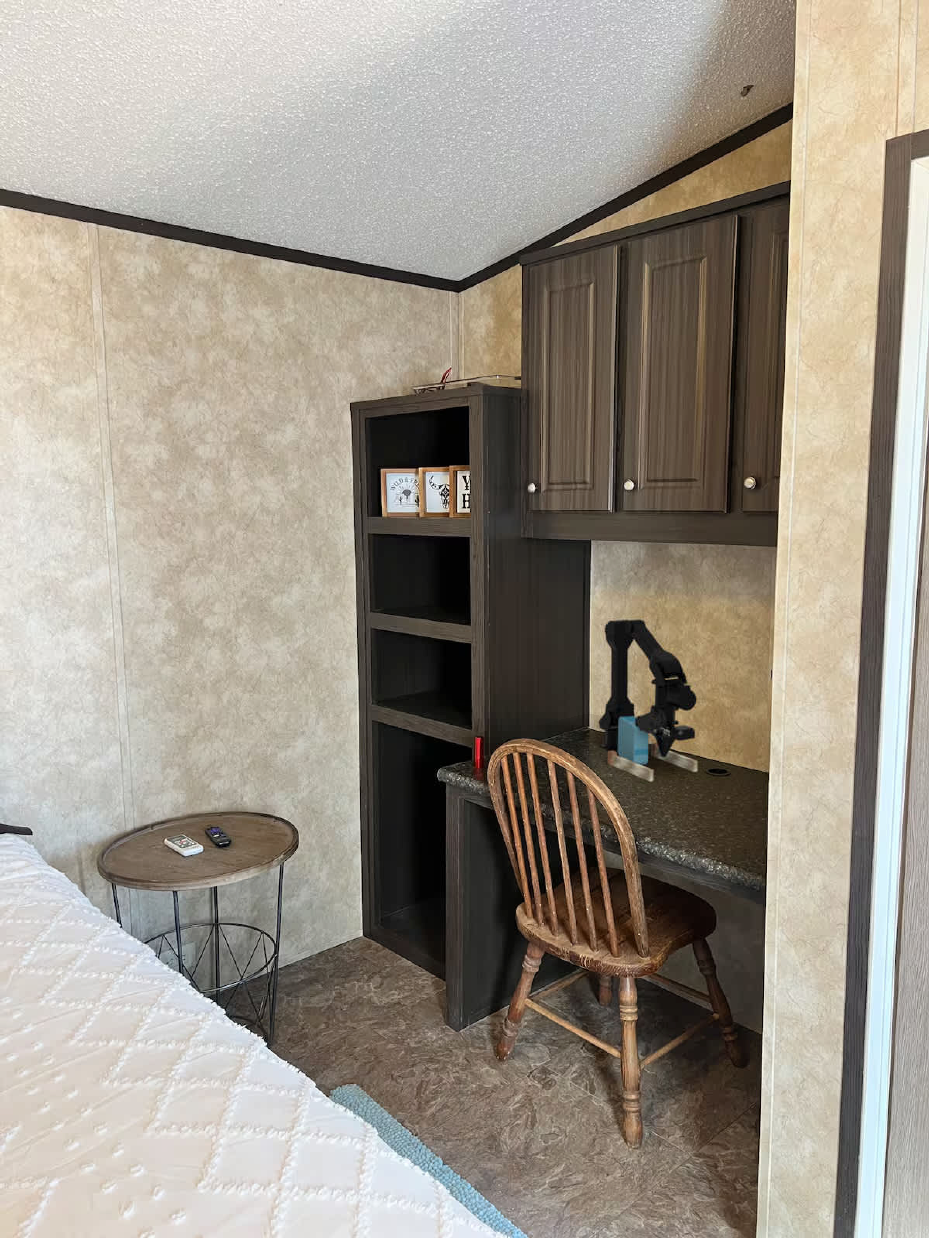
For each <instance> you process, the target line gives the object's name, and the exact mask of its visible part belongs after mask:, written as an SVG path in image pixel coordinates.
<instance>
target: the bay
mask: <svg viewBox="0 0 929 1238" xmlns="http://www.w3.org/2000/svg"><path fill="white" fill-rule="evenodd" d="M617 754H618V751H610V750H608V751H607V765H609V766H611V767H615V768H617V769H620V770H622V771H623V772H624V771H625V772H627V773H629V774H630V775H634V776H636V777H638V778H641V779H643V780H645V781H648V782H654V769H652V768H649V767H646V766H644V765H640V764H637V763H635V762H632V761H630V760H627V759H625V758H622V757H620V756H619V755H617ZM650 756H651V757H653V758H657V759H659V760H662V761H665V762H667V763H670V764H673V765H675V766H678V767H680V768H681V769H682V768H683V769H685V770H688V771H689V772H693V773H694V772H696V773H697V772H698V762H699V761H698V760H695V759H694V758H691V757H687V756H685V755H682V754H680V753H677V752H674V751H671V750H669V752H668V754H667V755H666V757H662V756H661V754H660V751H659V747H658V744H657V742H651V743H650Z"/></svg>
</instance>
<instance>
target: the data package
mask: <svg viewBox="0 0 929 1238" xmlns="http://www.w3.org/2000/svg"><path fill="white" fill-rule="evenodd" d="M636 718H637V717H636V716H629V717H620V718H619V722H618V751H617V754H618V756H620V757H622V758H625V759H627V760H630V761H632V762H635V763H637V764H640V765H642V766H644V765H647V764H648V762H649V760H648V759H649V737H650V733H646V732H645V731H641V730H639V727H638V726H635V719H636Z"/></svg>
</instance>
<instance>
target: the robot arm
mask: <svg viewBox="0 0 929 1238" xmlns="http://www.w3.org/2000/svg"><path fill="white" fill-rule="evenodd" d="M604 633H605V641H606V643H607V645H608V646H609V647H610V650H611V652H610V653H611V655H610V658H611V659H610V661H611V663H610V666H611V667H610V679H611V680H610V697H609V698H608V700H607V702H606V704H605V707H604V709H605V710H604V714H603V715H602V716H601V717H600V719H599V720H598V724H599V728H600V729H601V730H603V731H604V744H600V747H602V748H603V749H605V750H608V751H615V752H618V722H619V718H620V717H629V716H634V717H636V715H635V704H634V703H633V702H631V700H630V699H629V694H628V693H629V692H628V691H629V690H628V687H629V682H628V681H629V675H628V674H629V673H628V672H629V648H630V647H631V645H632V644H633V642H635V643H636V644H637V646H638V647H639V648H640V650H641V651H642V652H643V654H644V655H645V656H646V658H647V659H648V668H649V670H650V672H651V674H652V676H653V677H654V678H653V679H652V680H651V682H650V684H652V685H655V686H654V687H655V689H654V704H652V705H651V707H650V711H649V712H646V713H645V714H641V715H637V717H636V719H635V726H638V727H639V730H641V731H645V732H646V733H649V734H651V735H652V736H653V737H654V738H655V741H656V743H657V744H658V747H659V751H660V754H661V756H662V757H666V755H667V754H668V752H669V751H671V748H672V746H673V745H674V743H675V741H678V742H679V741H680V742H681V741H686V740H691V739H692V740H693V739H695V738H696V730H695V729H694V727H691V726H688V725H684V724H683V725H679V720H678V719H677V720H676V711H679V710H682V711H685V712H686V711H687V712H688V711H691V710H692V709H694V707H695V706H696V704H697V696H696V694H695V692H694V691H693V690H691V685H690V684H688V680H687V676H686V673H685V672H684V669H683V667H682V664H681V662H680V660H679V659H678V658H677V657H676V656H675V655H674V654H673V653H672V652H669V651H667V650H665V649H664V648H663V647H662V646H661V644H660V643H659V642H658V640H657V639H656V638H655V637H654V635H653V634H652V632H651V631H650V630H649V629H648V627H647V625H646V622H645V621H644V620H642V619H641V618H640V619H620V620H619V619H617V620H609V621H608V622H607V623H606V624H605V627H604ZM677 725H678V726H677Z"/></svg>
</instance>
